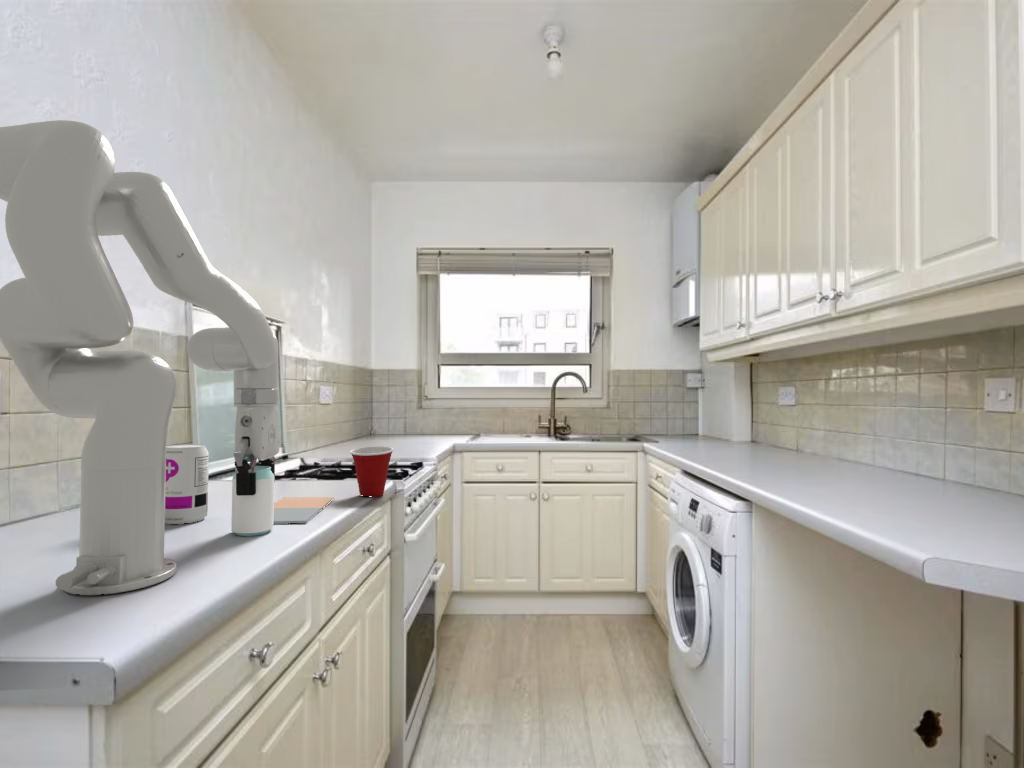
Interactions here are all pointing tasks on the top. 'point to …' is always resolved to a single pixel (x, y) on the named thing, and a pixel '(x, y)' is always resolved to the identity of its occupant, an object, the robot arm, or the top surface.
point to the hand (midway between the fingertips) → (256, 489)
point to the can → (254, 505)
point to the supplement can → (186, 483)
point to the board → (298, 509)
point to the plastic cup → (372, 469)
